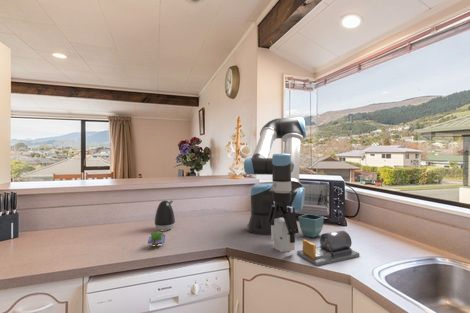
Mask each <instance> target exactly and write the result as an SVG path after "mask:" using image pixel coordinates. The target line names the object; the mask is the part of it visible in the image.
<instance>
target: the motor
mask: <svg viewBox="0 0 470 313" xmlns="http://www.w3.org/2000/svg"><path fill="white" fill-rule="evenodd" d="M319 244H320V245H319V246H317V245H316V244H315V243H313V242H311V241H309V240H307V239H302V249H301V250H297V251H296V254H297V255H298V256H300V257H301V258H303V259H305V260H306V261H308V262H309V263H311V264H312V265H314V266H316V267H318V266H323V265H328V264H332V263H337V262H340V261H345V260H350V259H355V258H358V257H360V252H358V251H355V250H353V249H352V248H351V247H352V238H351V236H350V234H349V233H348V232H347V231H345V230H337V231H331V232H327V233H322V234H321V235H320V237H319ZM316 246H317V247H316Z"/></svg>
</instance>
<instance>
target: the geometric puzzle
mask: <svg viewBox="0 0 470 313" xmlns="http://www.w3.org/2000/svg"><path fill="white" fill-rule="evenodd" d="M165 241H166V235H165V234H164V231H160V230H158V229H157V230H156V231H154V233H153V232H152V233H150V235H149V237H148V240H147V245H150V244H152V245H155V246H154V247H158V248H160V247H161V246H157V245H158V244H162V245H163V244H165V243H166V242H165ZM152 245H151V246H152Z"/></svg>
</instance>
